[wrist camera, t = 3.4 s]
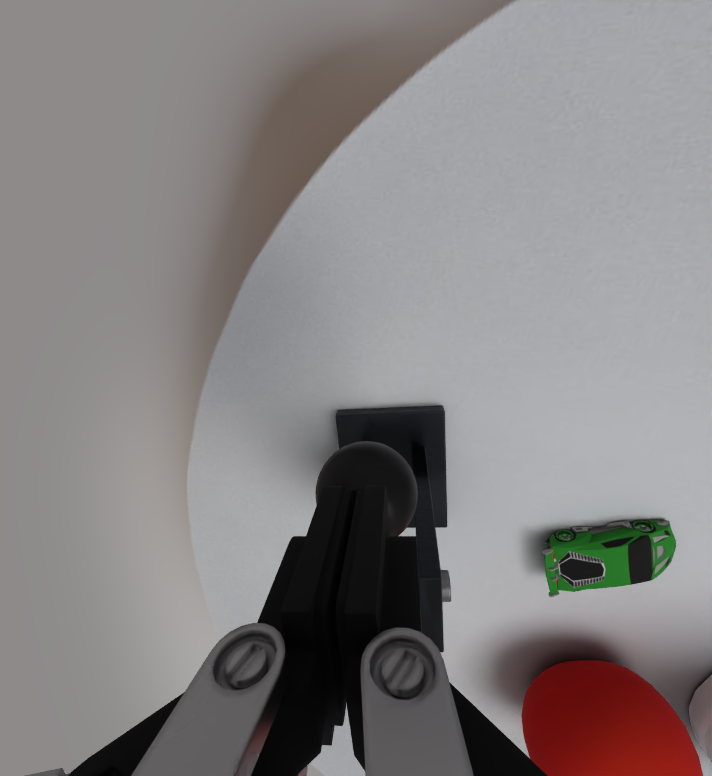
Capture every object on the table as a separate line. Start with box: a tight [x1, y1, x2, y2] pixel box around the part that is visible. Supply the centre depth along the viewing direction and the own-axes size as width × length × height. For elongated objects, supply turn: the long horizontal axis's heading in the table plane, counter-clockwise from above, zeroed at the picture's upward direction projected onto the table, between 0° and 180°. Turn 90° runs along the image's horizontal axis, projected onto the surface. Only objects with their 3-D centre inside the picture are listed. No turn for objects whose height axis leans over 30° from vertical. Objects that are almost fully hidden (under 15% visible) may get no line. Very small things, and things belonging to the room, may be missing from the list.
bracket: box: [336, 406, 451, 652], centre depth 24 cm, size 10×8×14 cm
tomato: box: [522, 660, 703, 776], centre depth 31 cm, size 12×12×10 cm
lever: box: [316, 441, 418, 536], centre depth 16 cm, size 13×3×3 cm
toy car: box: [543, 520, 676, 597], centre depth 30 cm, size 10×5×2 cm, turn 105°
